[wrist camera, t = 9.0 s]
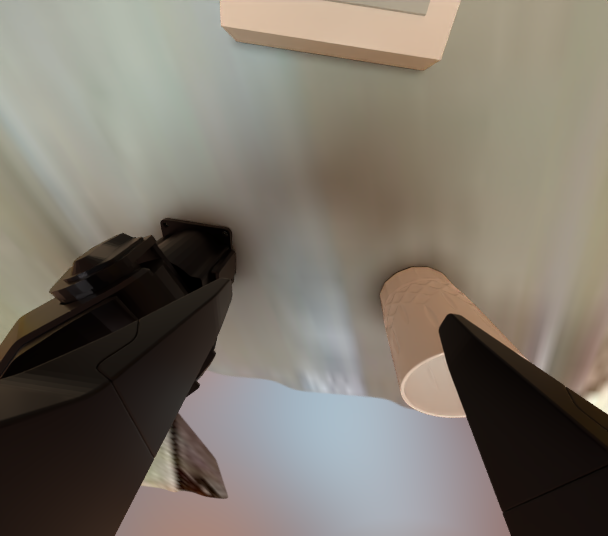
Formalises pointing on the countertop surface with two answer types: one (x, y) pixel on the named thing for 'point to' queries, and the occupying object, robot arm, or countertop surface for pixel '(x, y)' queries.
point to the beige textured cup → (427, 337)
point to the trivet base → (347, 28)
